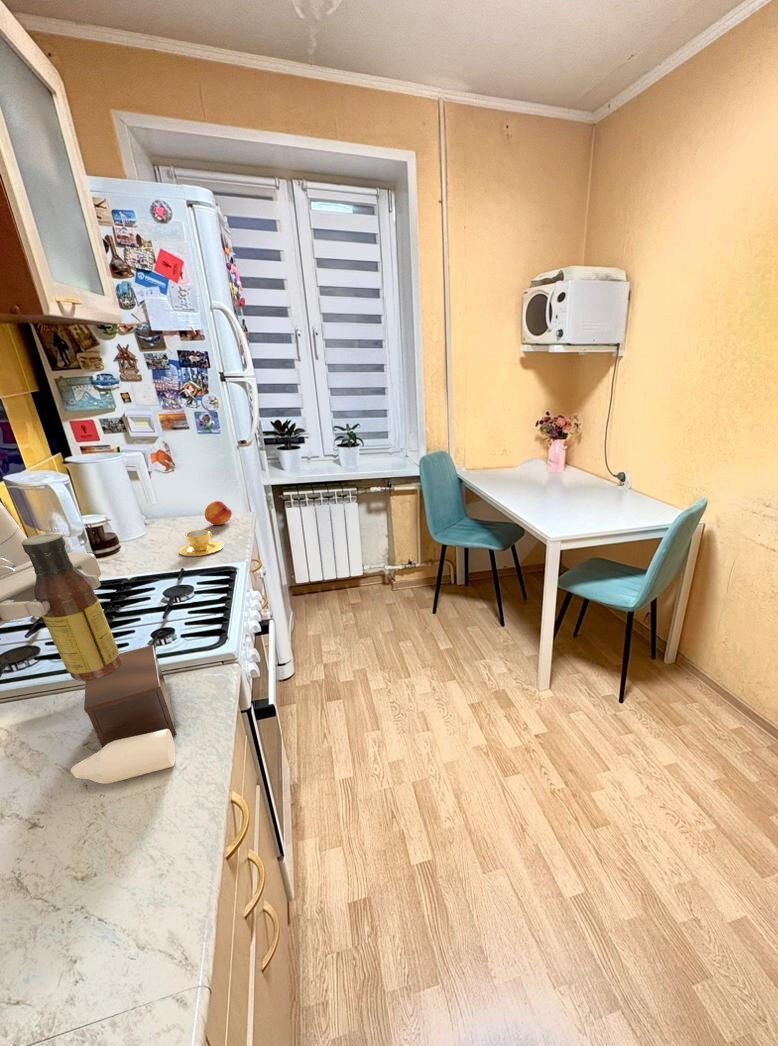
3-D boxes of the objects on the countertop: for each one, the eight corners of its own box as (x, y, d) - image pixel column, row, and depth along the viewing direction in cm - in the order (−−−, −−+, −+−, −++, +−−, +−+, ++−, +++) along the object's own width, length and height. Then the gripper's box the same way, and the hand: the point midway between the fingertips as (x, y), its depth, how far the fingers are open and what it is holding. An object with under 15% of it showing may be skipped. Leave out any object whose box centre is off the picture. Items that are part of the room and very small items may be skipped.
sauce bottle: (109, 654, 76) (64, 525, 68) (132, 666, 73) (87, 533, 65) (58, 676, 71) (2, 539, 63) (80, 690, 68) (25, 548, 60)
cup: (204, 559, 150) (199, 541, 147) (170, 555, 153) (165, 538, 150) (232, 545, 160) (228, 528, 158) (199, 541, 163) (195, 525, 161)
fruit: (229, 527, 176) (224, 504, 172) (204, 528, 175) (198, 505, 171) (235, 520, 183) (230, 498, 179) (211, 521, 182) (206, 499, 178)
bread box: (176, 735, 82) (161, 688, 78) (106, 759, 77) (85, 710, 73) (168, 692, 92) (154, 649, 88) (106, 711, 88) (88, 666, 84)
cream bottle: (84, 772, 75) (70, 742, 73) (177, 748, 79) (167, 719, 77) (74, 802, 70) (59, 771, 68) (173, 774, 75) (163, 744, 72)
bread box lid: (161, 690, 77) (160, 686, 77) (85, 713, 73) (83, 708, 72) (154, 648, 88) (153, 644, 88) (87, 666, 83) (86, 661, 83)
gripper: (58, 578, 79) (138, 584, 77) (-94, 648, 61) (5, 657, 59) (43, 539, 77) (125, 544, 75) (-121, 600, 58) (-18, 609, 56)
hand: (71, 595), depth 67 cm, fingers closed on sauce bottle, 6 cm apart
